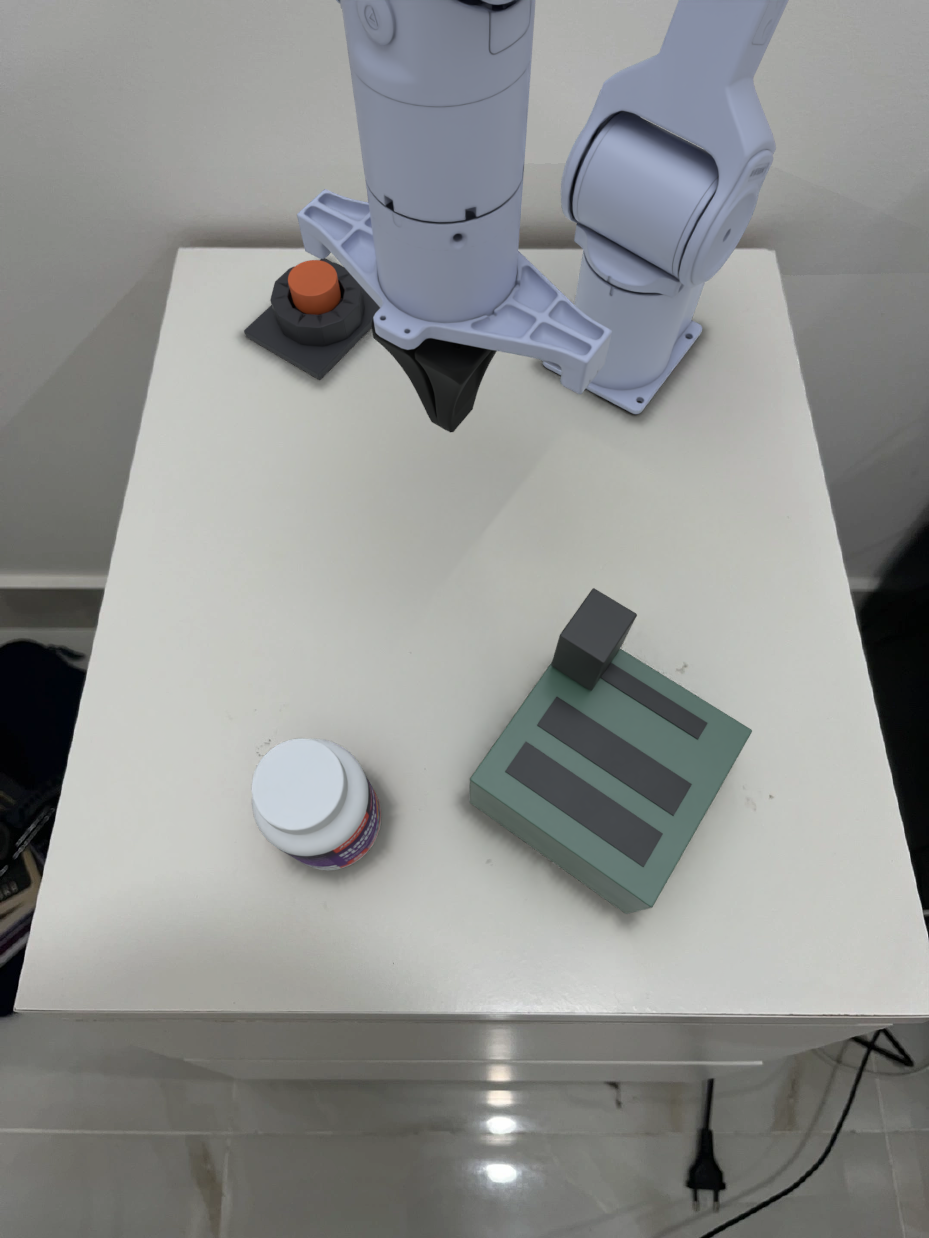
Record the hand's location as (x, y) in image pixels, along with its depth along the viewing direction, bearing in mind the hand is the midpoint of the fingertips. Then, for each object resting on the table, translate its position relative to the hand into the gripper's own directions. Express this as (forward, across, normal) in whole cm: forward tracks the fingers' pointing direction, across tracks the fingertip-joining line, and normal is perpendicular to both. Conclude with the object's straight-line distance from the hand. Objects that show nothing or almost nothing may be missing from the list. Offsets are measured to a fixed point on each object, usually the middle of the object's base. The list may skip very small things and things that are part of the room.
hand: (452, 414), depth 40 cm
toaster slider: (+4, +12, -6) cm, 14 cm away
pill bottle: (+10, +5, -19) cm, 23 cm away
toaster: (+10, +16, -10) cm, 21 cm away
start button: (+8, -18, +8) cm, 21 cm away
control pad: (+10, -18, +8) cm, 22 cm away
